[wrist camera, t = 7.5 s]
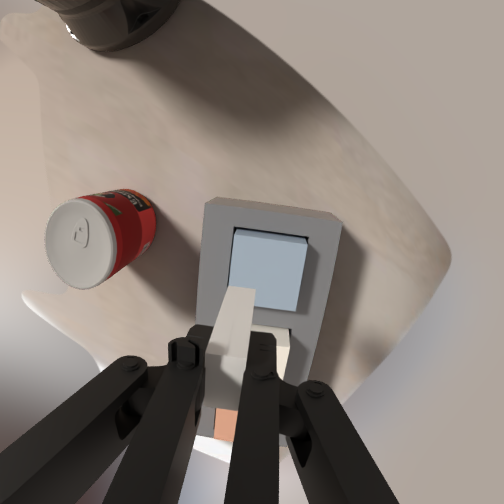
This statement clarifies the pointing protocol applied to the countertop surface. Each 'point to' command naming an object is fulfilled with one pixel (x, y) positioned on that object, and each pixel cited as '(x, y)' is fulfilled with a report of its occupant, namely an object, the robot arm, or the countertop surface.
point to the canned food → (98, 236)
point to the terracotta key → (225, 424)
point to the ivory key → (282, 344)
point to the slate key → (268, 266)
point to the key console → (298, 322)
